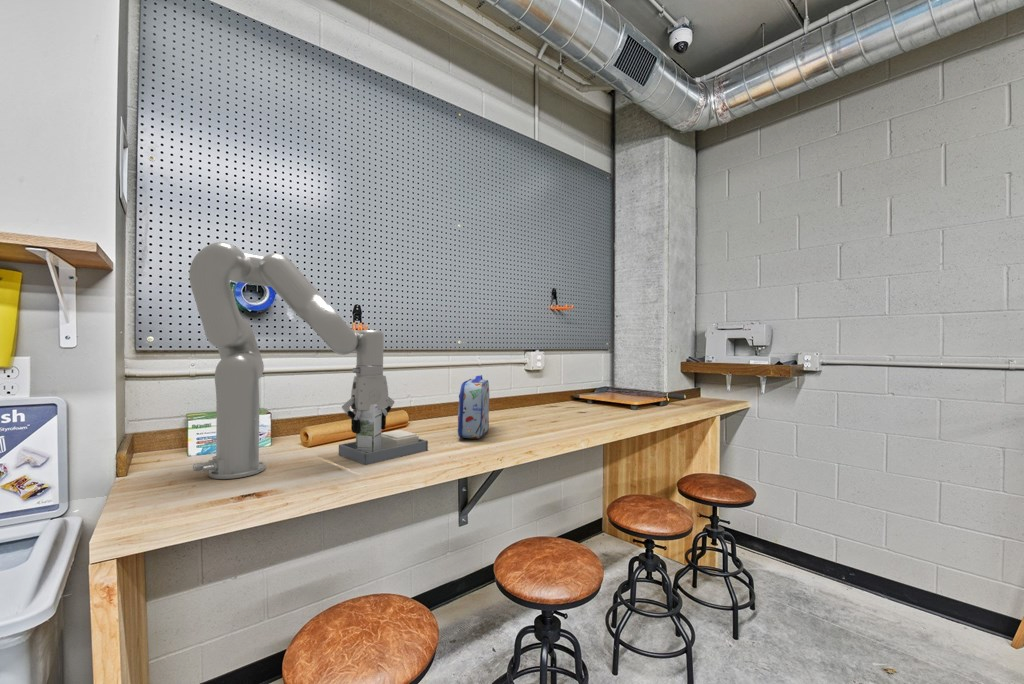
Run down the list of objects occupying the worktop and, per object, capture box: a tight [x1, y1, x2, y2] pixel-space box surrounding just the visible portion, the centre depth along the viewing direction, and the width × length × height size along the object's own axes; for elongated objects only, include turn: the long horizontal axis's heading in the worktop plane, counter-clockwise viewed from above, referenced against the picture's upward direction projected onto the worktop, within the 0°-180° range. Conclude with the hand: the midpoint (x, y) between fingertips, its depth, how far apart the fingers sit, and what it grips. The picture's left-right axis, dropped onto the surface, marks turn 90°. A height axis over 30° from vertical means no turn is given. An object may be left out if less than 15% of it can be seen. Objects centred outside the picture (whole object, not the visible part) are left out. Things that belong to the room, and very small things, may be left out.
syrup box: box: [355, 404, 382, 453], centre depth 125 cm, size 6×6×14 cm
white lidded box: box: [381, 429, 420, 450], centre depth 133 cm, size 8×10×5 cm
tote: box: [338, 438, 429, 466], centre depth 129 cm, size 21×15×4 cm
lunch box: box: [457, 374, 490, 439], centre depth 160 cm, size 28×10×22 cm, turn 179°
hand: (368, 430), depth 125 cm, fingers closed on syrup box, 7 cm apart
